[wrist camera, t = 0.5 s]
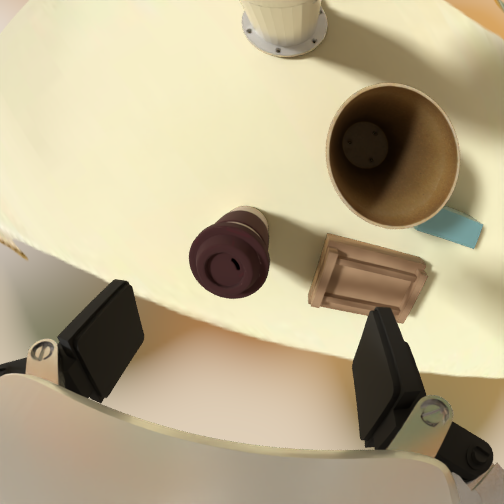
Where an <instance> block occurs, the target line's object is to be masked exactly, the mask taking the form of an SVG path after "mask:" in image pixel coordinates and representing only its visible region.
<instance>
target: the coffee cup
mask: <svg viewBox="0 0 504 504" xmlns="http://www.w3.org/2000/svg"><path fill="white" fill-rule="evenodd" d="M268 245H269V233H268V223H267V220H266V218H265V216H264V215H263V214H262V213H261V212H260V211H259V210H257V209H255V208H253V207H250V206H240V207H237V208H235V209H233V210H231V211H230V212H229V213H227V214H225V215H224V216H223V217H222V218H220V219H219V220H218V221H217V222H216V223H215V224H213V225H211V226H209V227H207V228H206V229H204V230H203V231H202V232H201V233H200V234H199V235H198V236H197V237H196V239H195V240H194V241H193V243H192V245H191V248H190V252H189V263H190V268H191V270H192V273H193V275H194V277H195V278H196V280H197V281H198V282H199V283H200V285H201V286H203V287H204V288H205V289H206V290H207V291H209V292H211V293H213V294H215V295H217V296H220V297H224V298H229V299H236V298H243V297H247V296H249V295H251V294H253V293H255V292H256V291H257V290H259V289H260V288H261V287H262V285H263V284H264V282H265V280H266V278H267V275H268V271H269V266H270V258H269V253H268Z"/></svg>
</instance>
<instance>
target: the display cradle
mask: <svg viewBox="0 0 504 504" xmlns="http://www.w3.org/2000/svg"><path fill="white" fill-rule="evenodd" d="M425 267H426V264H425V263H424V262H423V260H422V259H421V258H420V257H417V256H413V255H410V254H406V253H402V252H399V251H395V250H391V249H387V248H384V247H380V246H376V245H372V244H368V243H365V242H361V241H357V240H353V239H349V238H345V237H341V236H337V235H333V234H329V233H327V237H326V240H325V243H324V247H323V250H322V253H321V256H320V260H319V263H318V266H317V269H316V272H315V275H314V278H313V281H312V285H311V288H310V291H309V293H308V303H309V304H311V306H312V307H317V308H319V307H320V306H321V307H326V308H331V309H336V310H341V311H346V312H351V313H357V314H362V315H367V316H368V315H369V312H370V311H371V310H373V311H374V309H375V307H390V308H391V309H392V312H393V314H394V317H395V319H396V321H397V323H404V322H405V320H406V318H407V316H408V314H409V313H410V311H411V309H412V307H413V305H414V303H415V301H416V299H417V297H418V295H419V293H420V291H421V289H422V287H423V285H424V283H425V281H426V279H427V277H428V276H427V274H426V273H425V272H424V269H425Z"/></svg>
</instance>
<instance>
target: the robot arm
mask: <svg viewBox="0 0 504 504" xmlns="http://www.w3.org/2000/svg"><path fill="white" fill-rule="evenodd" d="M239 1H240V3H241V5H242V7H243V9H244V13H243V16H242V28H243V31H244V33H245V35H246V37H247V39H248V40H249V41H250V42H251V44H252V45H254V46H255V47H256V48H257V49H259V50H261V51H263V52H264V53H267V54H270V55H273V56H278V57H295V56H299V55H303V54H306V53H308V52H310V51H312V50H313V49H315V48H316V47H317V46H318V45H319V44H320V43H321V42H322V41H323V39H324V37H325V35H326V32H327V27H328V23H327V17H326V14H325V12H324V10H323V9H322V7H321V1H322V0H239ZM319 13H320V14H319ZM249 32H252V33H249ZM313 41H315V42H316V43H313ZM277 51H281V52H280V53H277ZM57 338H58V339H59V344H57V343H56V342H55V341H54V340H52V339H42V340H39V341H37V342H35V343H34V344H33V345H32V346H31V347H30V349H29V350H28V354H27V358H23V359H20V360H16V361H12V362H8V363H4V364H1V365H0V504H504V470H503V469H502V468H501V467H500V465H499V464H498V463H496V464H495V465H494V464H493V463H492V462H493V452H492V448H491V447H490V446H489V444H488V443H487V442H485V441H484V440H482V439H481V438H479V437H477V436H476V435H474V434H472V433H471V432H469V431H467V430H466V429H464V428H462V427H461V426H459V425H458V424H456V423H454V422H452V420H453V410H452V408H451V405H450V404H449V403H448V402H447V401H446V400H445V399H443V398H442V397H439V396H436V395H429V396H426V393H425V389H424V386H423V383H422V380H421V377H420V374H419V371H418V369H417V366H416V363H415V360H414V357H413V355H412V352H411V349H410V347H409V345H408V343H407V342H404V339H403V337H402V334H401V332H400V329H399V327H398V324H397V322H396V319H395V317H394V314H393V312H392V309H391V308H390V307H375V309H374V311H373V310H371V311H370V312H369V315H368V318H367V321H366V324H365V328H364V331H363V334H362V337H361V340H360V343H359V346H358V349H357V351H356V354H355V357H354V360H353V364H352V370H353V378H354V385H355V392H356V401H357V411H358V420H359V431H360V439H361V440H365V447H366V448H367V447H375V450H308V449H290V448H277V447H268V446H258V445H251V444H244V443H238V442H232V441H226V440H220V439H215V438H210V437H205V436H200V435H196V434H192V433H188V432H184V431H180V430H176V429H173V428H169V427H165V426H161V425H159V424H155V423H152V422H149V421H145V420H143V419H140V418H136V417H133V416H131V415H128V414H125V413H122V412H119V411H117V410H114V409H112V408H109V407H107V406H104V405H101V404H99V403H102V401H103V399H104V398H107V397H108V395H109V394H110V393H111V391H112V389H113V388H114V386H115V385H116V383H117V381H118V380H119V378H120V377H121V375H122V373H123V372H124V371H125V369H126V367H127V366H128V364H129V363H130V361H131V360H132V358H133V356H134V355H135V353H136V352H137V350H138V349H139V347H140V346H141V344H142V343H143V340H144V333H143V330H142V325H141V321H140V317H139V313H138V309H137V305H136V301H135V297H134V292H133V288H132V286H131V285H130V284H129V283H128V282H127V281H124V280H117V279H115V280H113V281H112V282H111V283H110V284H109V285H108V286H107V287H106V288H105V289H104V290H103V291H102V292H101V293H100V294H99V295H98V296H97V297H96V298H95V299H94V300H93V301H91V302H90V304H89V305H88V306H87V307H85V309H84V310H83V311H82V312H81V313H80V314H79V315H78V316H77V317H76V318H75V319H74V320H73V321H72V322H71V323H70V324H69V325H68V326H67V327H66V328H65V329H64V330H63V331H62V332H61V333H60V334H59V336H58V337H57ZM89 397H90V398H91V399H92V400H95V401H97V402H99V403H97V402H95V401H92V400H90V399H88V398H89Z"/></svg>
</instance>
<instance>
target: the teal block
mask: <svg viewBox="0 0 504 504" xmlns="http://www.w3.org/2000/svg"><path fill="white" fill-rule="evenodd" d="M482 227H483V224H481V223H480V222H479V221H477V220H476V219H474V218H473V217H471V216H470V215H467V214H465V213H462V212H460V211H458V210H455V209H453V208H450V207H447V206H444V207H443V208H442V209H441V210H440V211H439V212H438V213H437V214H436V215H435V216H433V217H432V218H431V219H429V220H427V221H426V222H424V223H422V224H420V225H417V226H414V228H415V229H416V230H418V231H421V232H424V233H427V234H431V235H434V236H437V237H440V238H443V239H446V240H449V241H452V242H455V243H458V244H461V245H464V246H467V247H470V248H473V249H474V248H475V245H476V243H477V240H478V238H479V235H480V232H481V230H482Z"/></svg>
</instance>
